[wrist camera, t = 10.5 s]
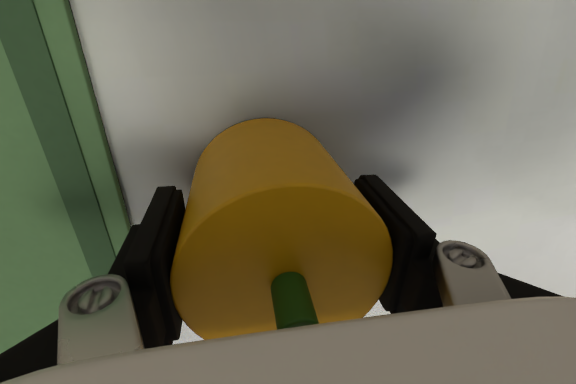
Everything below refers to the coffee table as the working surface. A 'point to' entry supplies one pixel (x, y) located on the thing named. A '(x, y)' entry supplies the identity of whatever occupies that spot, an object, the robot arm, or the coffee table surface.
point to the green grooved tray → (50, 169)
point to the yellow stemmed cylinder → (275, 236)
